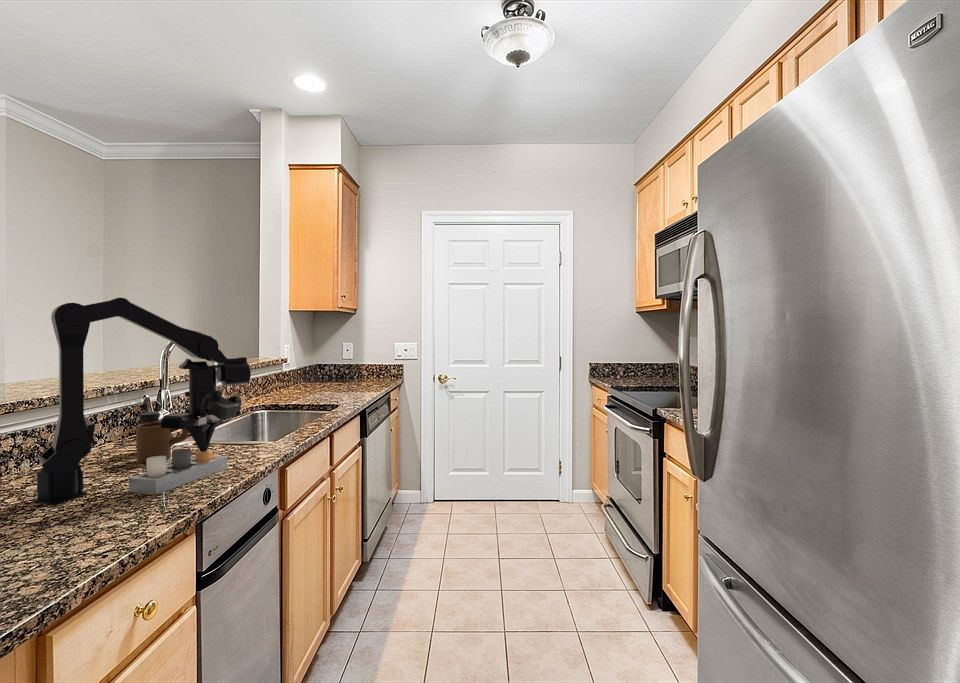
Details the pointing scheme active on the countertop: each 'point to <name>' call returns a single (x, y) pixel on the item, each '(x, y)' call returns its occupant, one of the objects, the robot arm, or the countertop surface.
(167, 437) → the mug
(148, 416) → the pill bottle
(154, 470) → the button ivory
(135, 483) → the button strip
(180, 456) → the button charcoal
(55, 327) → the robot arm
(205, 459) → the button orange
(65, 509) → the countertop surface
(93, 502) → the countertop surface
